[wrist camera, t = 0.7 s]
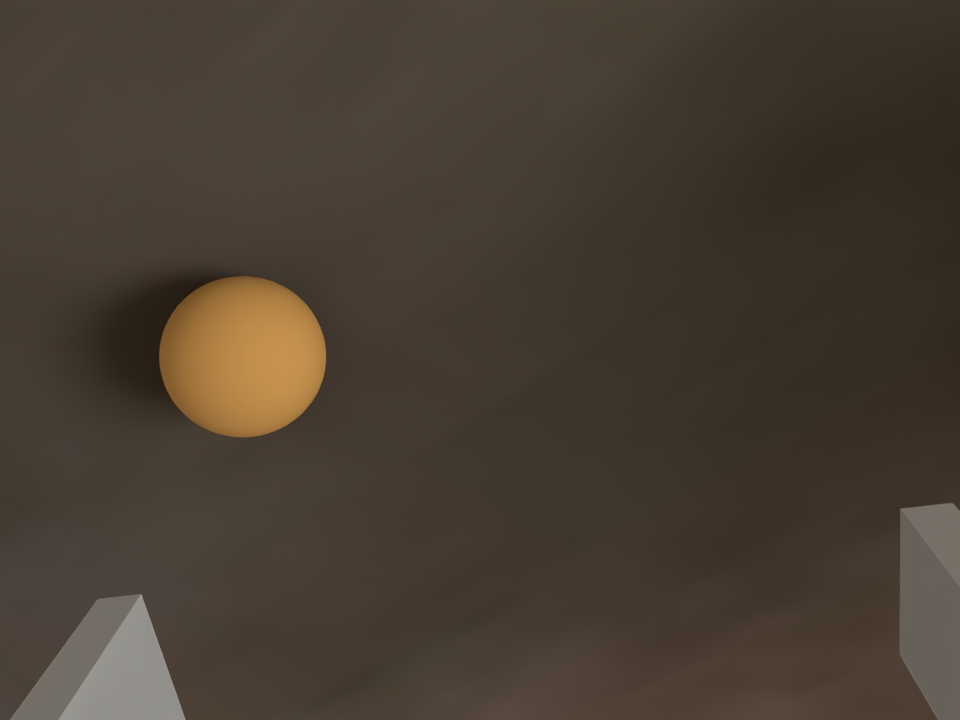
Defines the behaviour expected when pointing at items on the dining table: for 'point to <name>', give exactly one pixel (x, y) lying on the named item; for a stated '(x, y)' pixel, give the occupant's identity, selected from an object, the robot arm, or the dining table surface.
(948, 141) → the dining table surface
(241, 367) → the ball
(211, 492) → the dining table surface
